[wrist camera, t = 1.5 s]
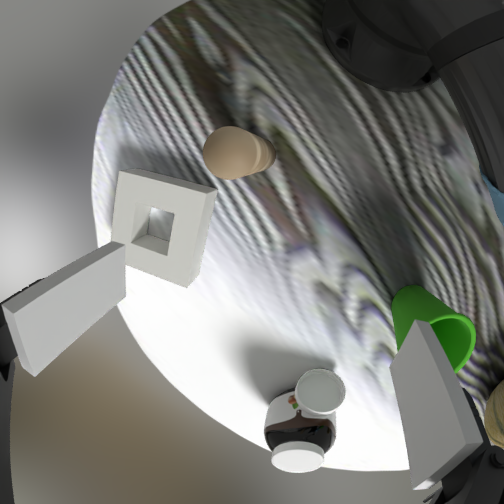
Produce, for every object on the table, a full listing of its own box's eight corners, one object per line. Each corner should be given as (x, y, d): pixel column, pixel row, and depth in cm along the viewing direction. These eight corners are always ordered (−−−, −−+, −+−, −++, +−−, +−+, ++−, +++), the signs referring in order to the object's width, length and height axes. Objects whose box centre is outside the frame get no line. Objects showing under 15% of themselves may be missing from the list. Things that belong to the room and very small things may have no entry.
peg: (247, 135, 30) (210, 121, 18) (279, 143, 30) (262, 133, 17) (239, 165, 31) (197, 172, 19) (270, 174, 31) (248, 185, 19)
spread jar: (277, 419, 43) (268, 475, 32) (258, 372, 40) (242, 434, 29) (349, 409, 40) (353, 467, 29) (341, 359, 37) (346, 423, 26)
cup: (447, 273, 30) (489, 315, 20) (426, 334, 33) (454, 386, 23) (386, 264, 32) (415, 310, 21) (368, 329, 35) (384, 388, 24)
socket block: (137, 168, 33) (119, 170, 30) (218, 189, 32) (206, 193, 29) (126, 248, 37) (109, 257, 33) (198, 274, 36) (187, 287, 33)
